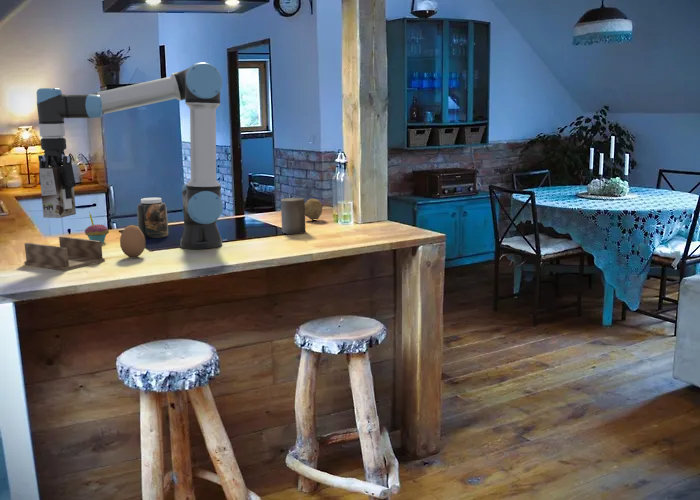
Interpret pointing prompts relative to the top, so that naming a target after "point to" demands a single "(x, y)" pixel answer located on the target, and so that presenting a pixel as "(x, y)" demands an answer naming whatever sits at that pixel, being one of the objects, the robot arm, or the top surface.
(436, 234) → the top surface
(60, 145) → the robot arm
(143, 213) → the jar
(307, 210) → the natural sponge
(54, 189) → the coffee box
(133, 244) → the egg
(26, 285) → the top surface
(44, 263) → the walnut rack
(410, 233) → the top surface
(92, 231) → the cupcake
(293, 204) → the pillar candle
